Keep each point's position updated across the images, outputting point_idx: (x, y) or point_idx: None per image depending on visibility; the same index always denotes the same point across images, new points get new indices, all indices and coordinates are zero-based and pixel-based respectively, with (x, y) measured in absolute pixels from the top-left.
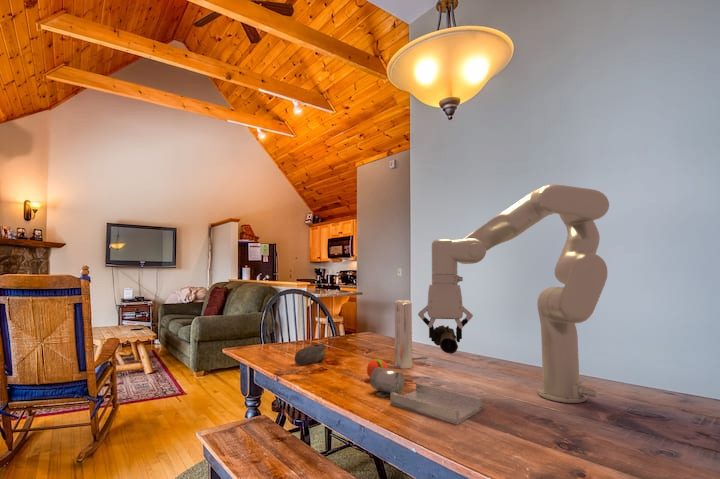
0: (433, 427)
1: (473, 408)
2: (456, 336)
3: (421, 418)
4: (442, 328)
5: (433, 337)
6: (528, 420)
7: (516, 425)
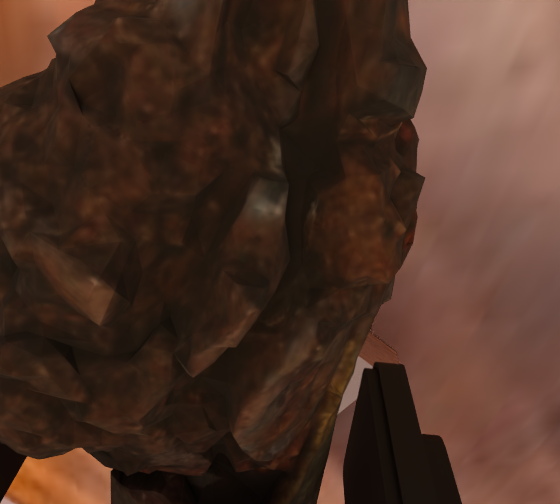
0: None
1: (347, 391)
2: (364, 443)
3: None
4: (96, 447)
5: (3, 481)
6: (546, 440)
7: (470, 476)
